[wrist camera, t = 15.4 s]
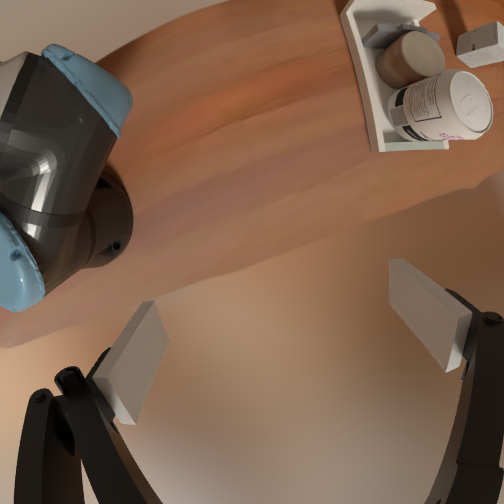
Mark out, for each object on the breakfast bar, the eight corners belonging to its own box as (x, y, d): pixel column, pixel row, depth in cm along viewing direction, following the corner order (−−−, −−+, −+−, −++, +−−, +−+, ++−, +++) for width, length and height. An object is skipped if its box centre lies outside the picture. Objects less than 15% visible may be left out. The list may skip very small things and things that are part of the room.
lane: (371, 152, 38) (399, 151, 29) (339, 15, 31) (356, -12, 22) (438, 148, 37) (473, 149, 28) (408, 22, 30) (434, 3, 22)
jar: (381, 89, 34) (410, 75, 25) (370, 48, 32) (395, 26, 23) (418, 91, 33) (452, 80, 25) (408, 51, 31) (437, 34, 23)
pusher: (360, 47, 31) (382, 26, 24) (359, 41, 31) (380, 19, 23) (417, 52, 31) (444, 37, 23) (415, 46, 30) (442, 31, 23)
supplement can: (408, 80, 32) (468, 55, 18) (438, 124, 34) (504, 119, 20) (374, 105, 34) (432, 83, 19) (407, 152, 36) (473, 153, 21)
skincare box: (457, 35, 30) (495, 17, 18) (473, 48, 30) (513, 34, 19) (455, 57, 31) (497, 42, 20) (472, 70, 32) (514, 59, 20)
